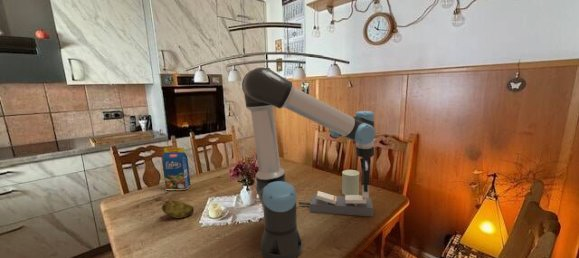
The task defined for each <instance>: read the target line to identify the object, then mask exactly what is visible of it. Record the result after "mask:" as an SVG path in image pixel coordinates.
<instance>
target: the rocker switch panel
mask: <svg viewBox="0 0 579 258" xmlns="http://www.w3.org/2000/svg"><path fill="white" fill-rule="evenodd" d="M336 196H337V197H336V204H332V203H329V202H326V201H323V200H319V199H316V197H317V194H311V199H310V201H309V202H304V201H299V202H298V205H301V206H302V205H303V206H309V212H310V213H318V214H330V215H331V214H333V215H334V214H335V215H344V216H345V215H347V216H357V217H358V216H362V217H374V205H373V203H372V198H371V197H369V198H366V203H345V196H339V195H336Z"/></svg>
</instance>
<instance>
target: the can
mask: <svg viewBox="0 0 579 258" xmlns="http://www.w3.org/2000/svg"><path fill="white" fill-rule="evenodd" d="M341 175H342V177H341V184H342V185H341V186H342V187H341V193H342V195H344V196H345V195H360V171H359V170H355V169H345V170H343V171H342V172H341Z"/></svg>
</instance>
